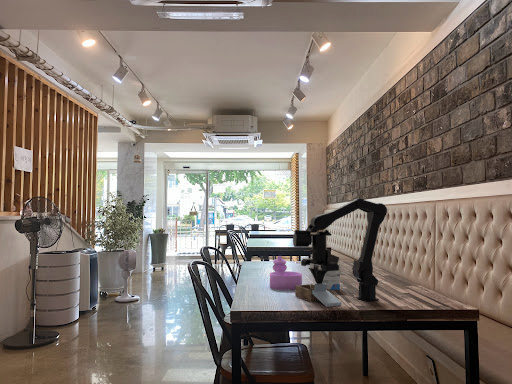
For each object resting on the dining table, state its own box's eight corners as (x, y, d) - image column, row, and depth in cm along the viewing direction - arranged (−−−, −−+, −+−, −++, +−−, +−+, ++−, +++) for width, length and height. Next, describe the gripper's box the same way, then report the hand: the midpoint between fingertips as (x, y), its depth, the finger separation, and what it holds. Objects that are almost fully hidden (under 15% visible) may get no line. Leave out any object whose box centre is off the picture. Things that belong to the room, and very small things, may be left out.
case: (328, 299, 152) (328, 288, 152) (311, 301, 148) (311, 290, 148) (311, 294, 162) (311, 284, 163) (295, 296, 159) (295, 285, 159)
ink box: (338, 288, 177) (338, 262, 178) (340, 290, 172) (339, 264, 173) (320, 287, 178) (320, 262, 179) (321, 289, 173) (320, 263, 174)
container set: (305, 289, 173) (305, 260, 174) (273, 290, 171) (273, 261, 172) (292, 280, 198) (292, 255, 199) (263, 281, 196) (263, 255, 197)
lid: (340, 305, 143) (342, 295, 142) (326, 306, 140) (328, 297, 139) (325, 291, 152) (326, 282, 151) (311, 293, 149) (313, 283, 148)
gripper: (350, 248, 146) (350, 289, 145) (322, 244, 163) (322, 281, 162) (326, 249, 142) (326, 291, 141) (300, 245, 159) (300, 283, 158)
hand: (319, 286), depth 150 cm, fingers closed
